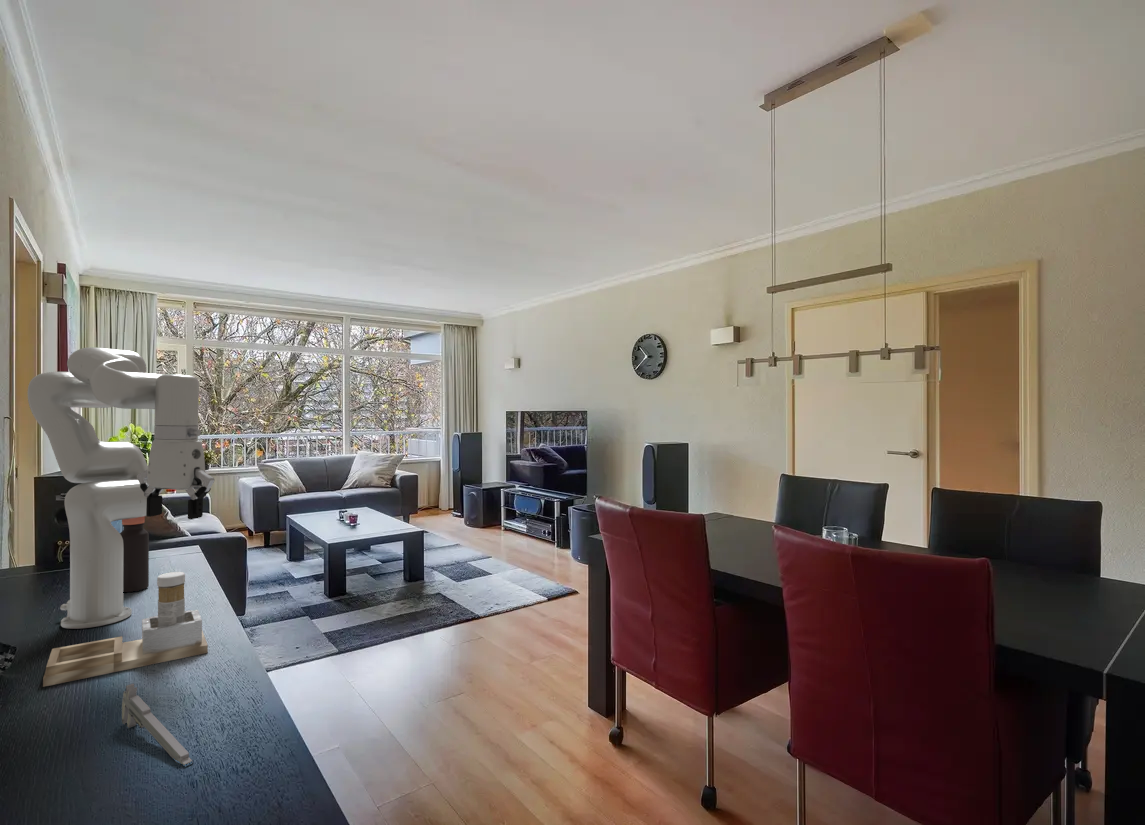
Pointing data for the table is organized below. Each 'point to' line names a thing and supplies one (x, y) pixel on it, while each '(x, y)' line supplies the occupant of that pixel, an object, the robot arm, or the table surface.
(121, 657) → the stand board
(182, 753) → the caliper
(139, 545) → the vinegar
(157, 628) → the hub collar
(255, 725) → the table surface
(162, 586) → the sprinkles bottle
